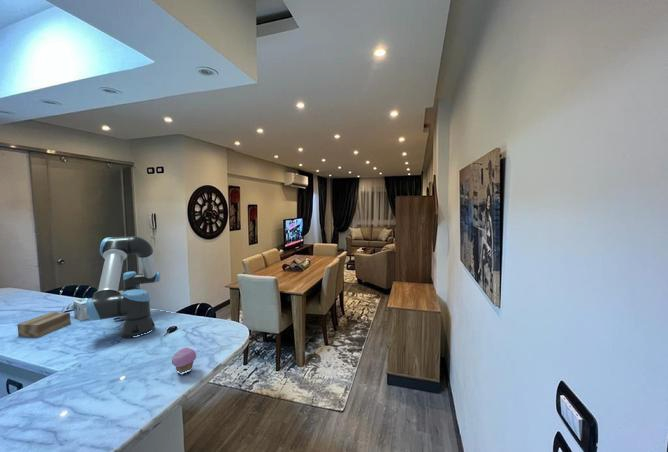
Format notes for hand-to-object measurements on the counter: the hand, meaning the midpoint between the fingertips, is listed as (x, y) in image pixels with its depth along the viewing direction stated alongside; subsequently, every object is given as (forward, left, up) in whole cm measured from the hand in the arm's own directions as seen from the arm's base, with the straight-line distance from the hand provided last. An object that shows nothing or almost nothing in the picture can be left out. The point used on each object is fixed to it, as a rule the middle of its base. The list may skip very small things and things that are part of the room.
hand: (77, 309), depth 162 cm
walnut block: (0, +15, -7) cm, 16 cm away
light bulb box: (0, -3, -7) cm, 8 cm away
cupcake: (-108, +17, -7) cm, 109 cm away
